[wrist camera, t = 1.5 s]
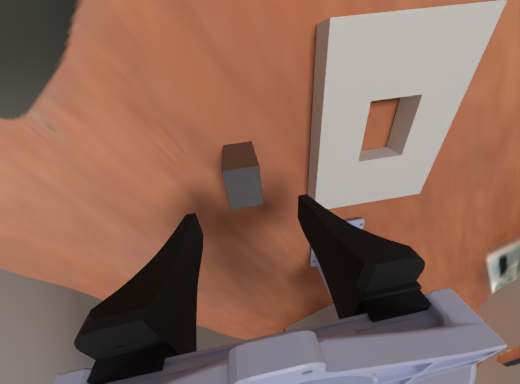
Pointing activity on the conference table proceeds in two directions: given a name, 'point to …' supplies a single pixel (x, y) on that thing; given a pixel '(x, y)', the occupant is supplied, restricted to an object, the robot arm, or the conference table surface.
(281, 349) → the robot arm
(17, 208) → the conference table surface
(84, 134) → the conference table surface
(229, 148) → the gray rectangular block
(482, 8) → the block
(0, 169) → the conference table surface
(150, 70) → the conference table surface
